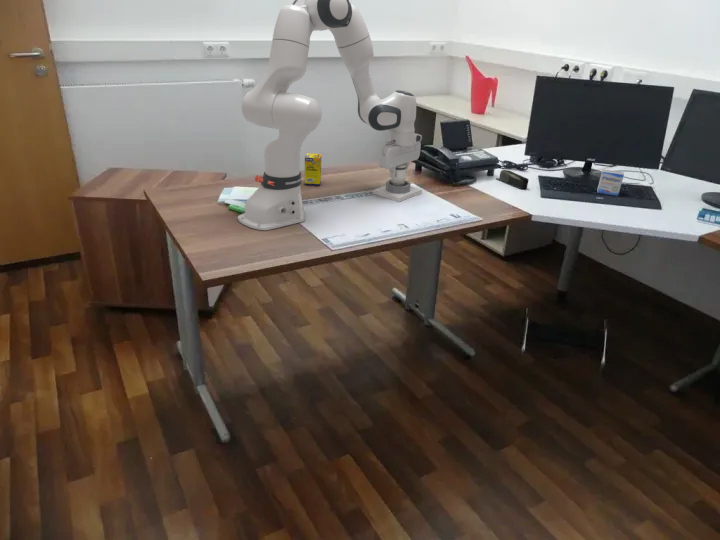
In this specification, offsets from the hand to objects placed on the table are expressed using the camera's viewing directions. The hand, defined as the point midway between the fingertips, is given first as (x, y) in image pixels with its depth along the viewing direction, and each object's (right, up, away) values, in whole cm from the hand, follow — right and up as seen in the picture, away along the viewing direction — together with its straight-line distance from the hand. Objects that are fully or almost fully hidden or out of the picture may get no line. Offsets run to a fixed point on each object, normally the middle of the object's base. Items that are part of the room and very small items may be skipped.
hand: (398, 175), depth 204 cm
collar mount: (0, -6, +3) cm, 7 cm away
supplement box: (-32, -2, +9) cm, 34 cm away
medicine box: (+84, -5, +15) cm, 85 cm away
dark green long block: (+47, -1, +19) cm, 50 cm away
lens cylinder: (0, -3, +1) cm, 3 cm away
